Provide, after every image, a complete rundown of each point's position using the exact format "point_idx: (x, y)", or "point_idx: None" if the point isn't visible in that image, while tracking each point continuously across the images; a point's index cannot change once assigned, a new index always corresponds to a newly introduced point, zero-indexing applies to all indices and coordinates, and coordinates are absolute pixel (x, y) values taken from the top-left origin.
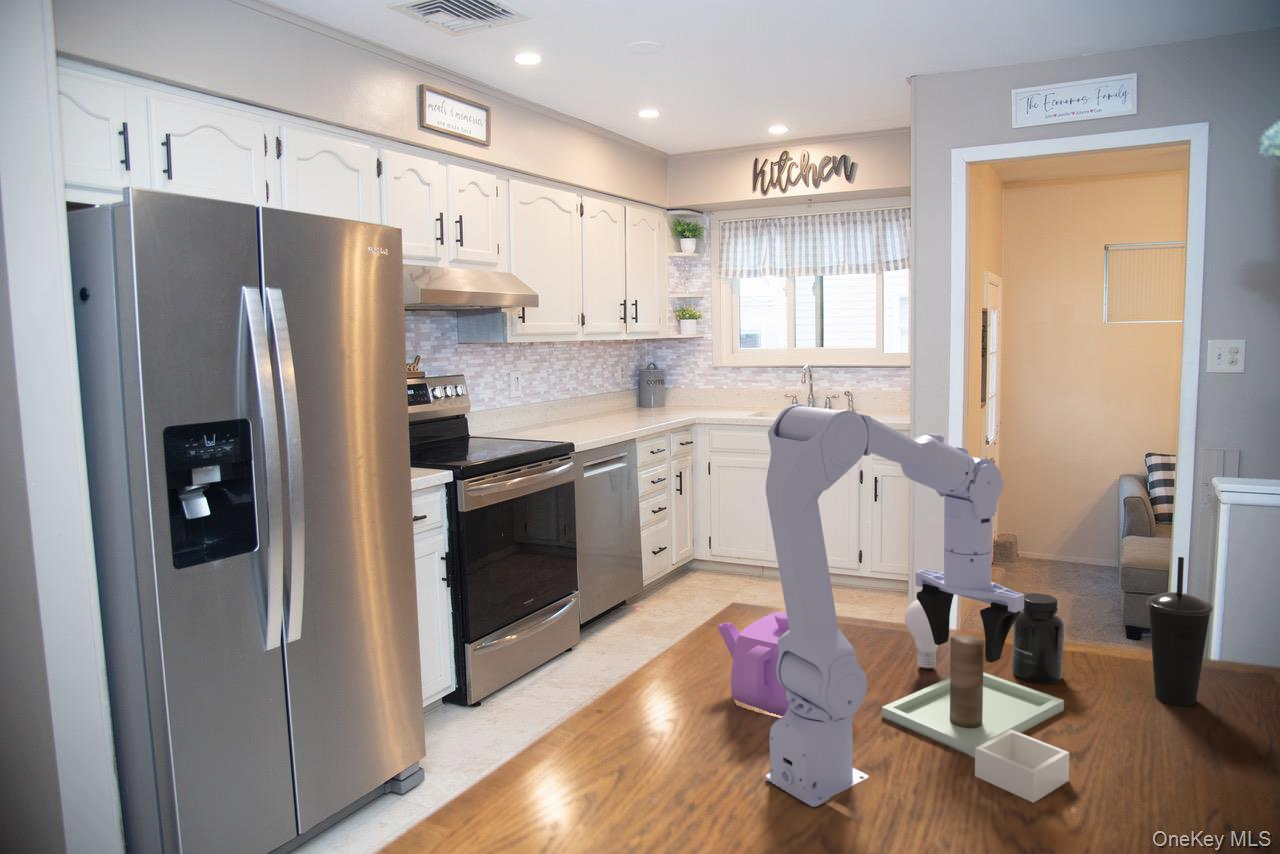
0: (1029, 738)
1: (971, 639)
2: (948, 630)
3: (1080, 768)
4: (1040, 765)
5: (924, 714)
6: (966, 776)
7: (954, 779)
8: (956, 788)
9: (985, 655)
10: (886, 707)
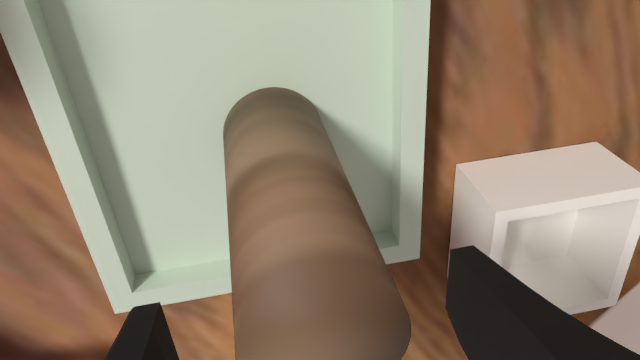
0: (554, 210)
1: (328, 323)
2: (149, 348)
3: (595, 50)
4: (617, 277)
5: (171, 201)
6: (426, 279)
7: (417, 302)
8: (437, 316)
9: (457, 335)
10: (124, 306)
